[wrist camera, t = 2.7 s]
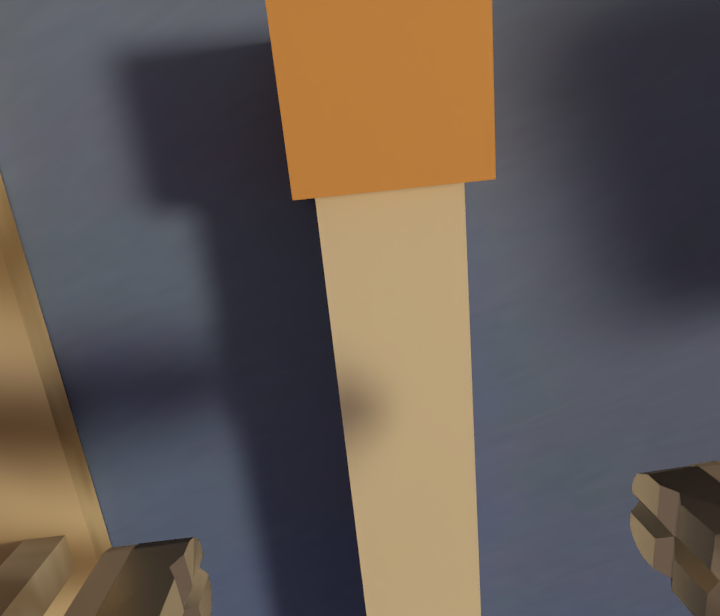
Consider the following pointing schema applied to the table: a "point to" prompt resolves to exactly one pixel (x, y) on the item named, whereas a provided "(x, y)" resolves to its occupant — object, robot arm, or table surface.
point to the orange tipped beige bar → (396, 267)
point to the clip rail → (38, 456)
